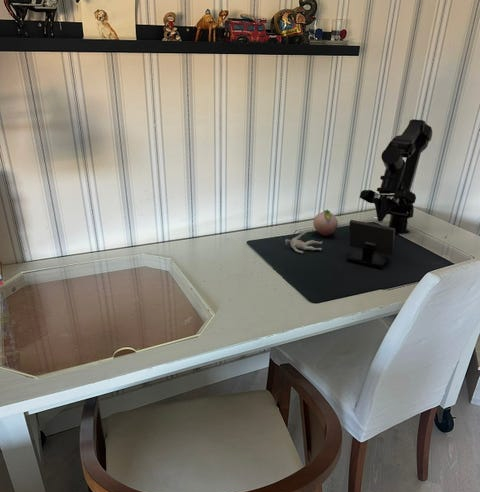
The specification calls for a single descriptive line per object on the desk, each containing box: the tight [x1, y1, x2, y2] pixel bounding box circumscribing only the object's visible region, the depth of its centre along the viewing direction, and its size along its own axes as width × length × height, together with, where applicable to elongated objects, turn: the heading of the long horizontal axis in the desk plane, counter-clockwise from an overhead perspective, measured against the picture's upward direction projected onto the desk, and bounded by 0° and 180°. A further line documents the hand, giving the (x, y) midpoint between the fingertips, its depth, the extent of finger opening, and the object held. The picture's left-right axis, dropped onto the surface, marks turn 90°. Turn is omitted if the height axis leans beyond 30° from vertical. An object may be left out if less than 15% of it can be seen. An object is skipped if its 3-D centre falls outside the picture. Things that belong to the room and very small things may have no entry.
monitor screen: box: [349, 219, 396, 256], centre depth 154 cm, size 2×14×10 cm, turn 60°
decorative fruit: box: [313, 209, 339, 237], centre depth 176 cm, size 9×8×10 cm
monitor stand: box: [346, 245, 390, 270], centre depth 157 cm, size 8×11×5 cm
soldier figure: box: [284, 231, 323, 254], centre depth 165 cm, size 8×5×12 cm
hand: (379, 221), depth 159 cm, fingers closed
